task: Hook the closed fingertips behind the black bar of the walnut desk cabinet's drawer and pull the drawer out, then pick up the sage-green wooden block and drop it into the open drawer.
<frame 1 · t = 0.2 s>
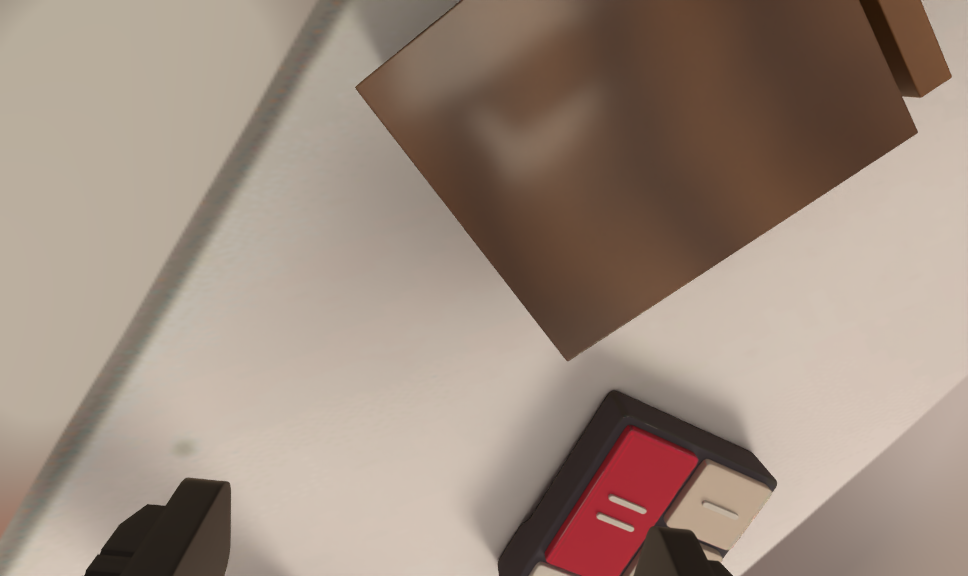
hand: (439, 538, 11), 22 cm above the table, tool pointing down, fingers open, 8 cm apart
cabinet: (583, 94, 30), on the table
calculator: (621, 507, 39), on the table
drawer: (713, 23, 24), point 5 cm above the table, slide at 1.0 cm
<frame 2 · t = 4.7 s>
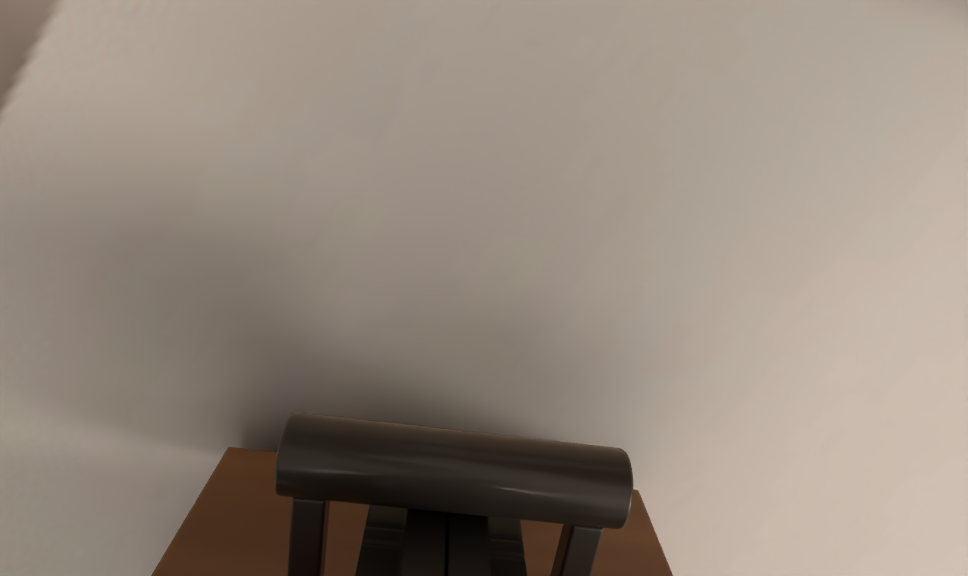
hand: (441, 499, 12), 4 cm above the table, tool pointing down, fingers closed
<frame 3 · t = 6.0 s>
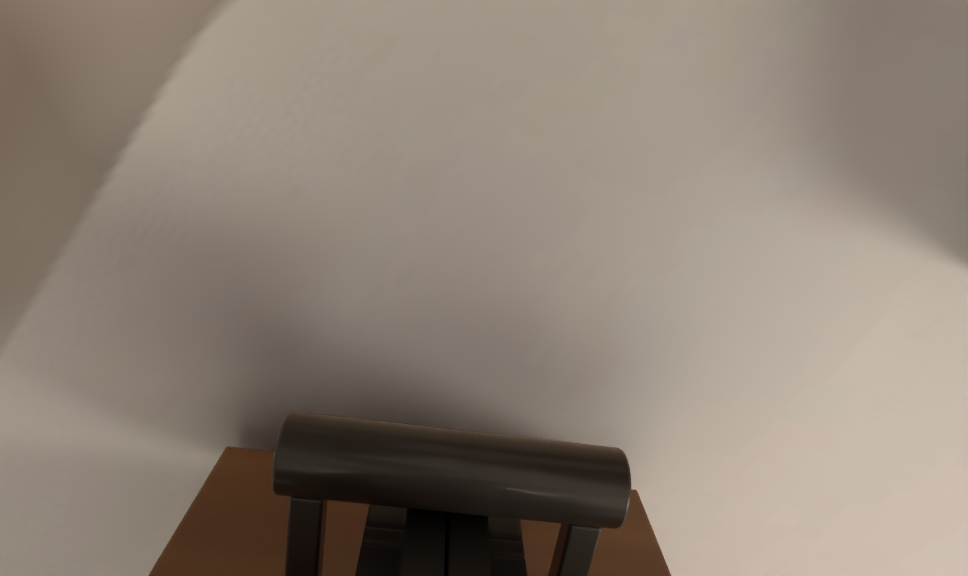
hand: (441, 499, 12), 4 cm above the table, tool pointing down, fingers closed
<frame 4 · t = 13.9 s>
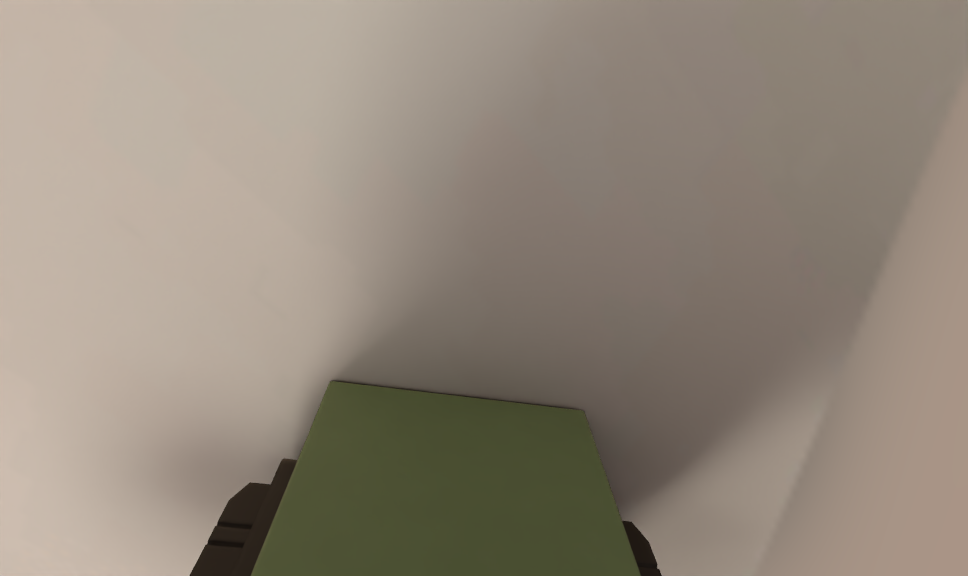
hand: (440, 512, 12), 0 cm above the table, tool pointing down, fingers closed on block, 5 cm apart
block: (442, 497, 13), on the table, touching gripper
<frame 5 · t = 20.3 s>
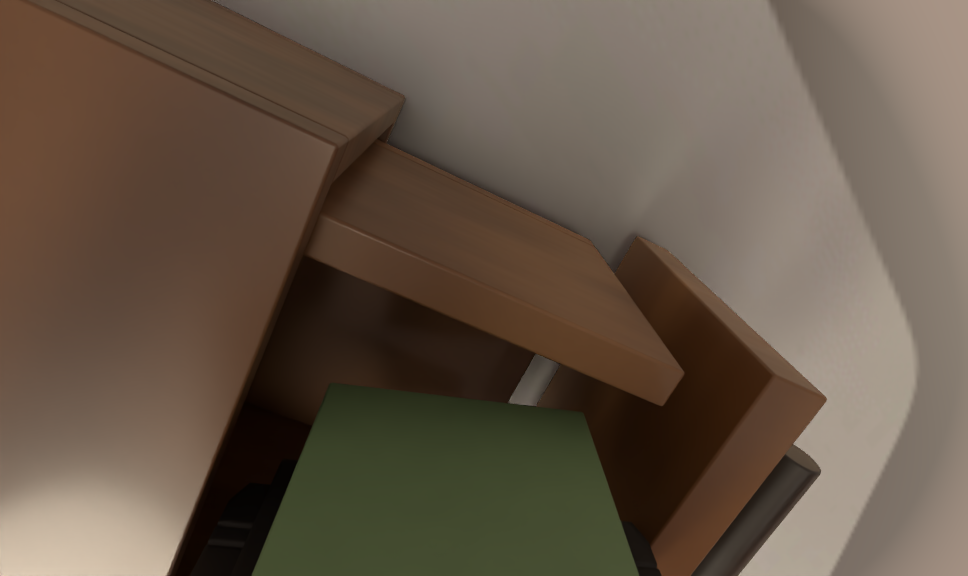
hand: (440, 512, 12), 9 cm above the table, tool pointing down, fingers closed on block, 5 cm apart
block: (442, 499, 13), point 9 cm above the table, touching gripper
cabinet: (104, 182, 18), on the table
drawer: (463, 419, 16), point 5 cm above the table, slide at 8.1 cm
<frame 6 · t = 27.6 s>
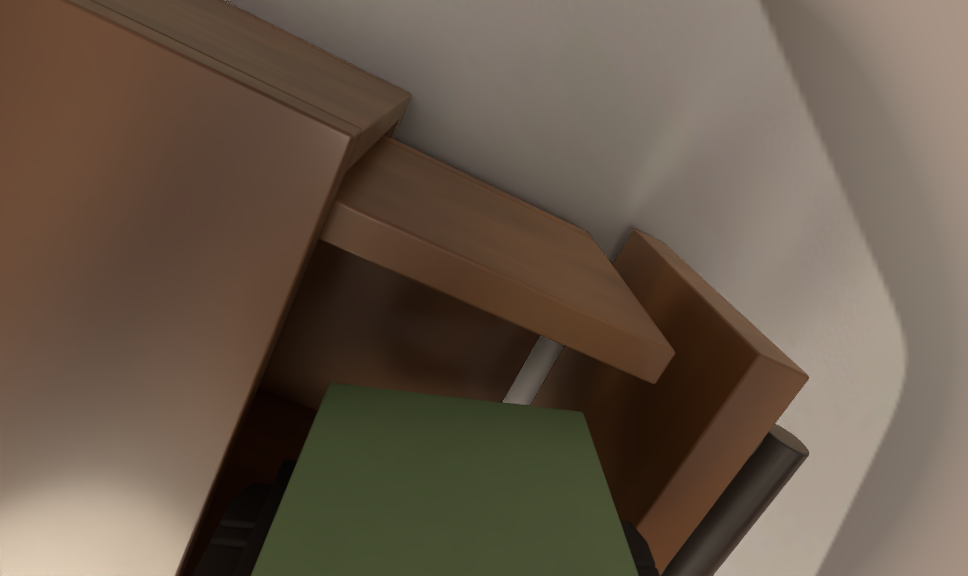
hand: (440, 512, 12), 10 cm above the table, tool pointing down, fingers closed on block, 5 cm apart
block: (442, 498, 13), point 9 cm above the table, touching gripper
cabinet: (121, 175, 19), on the table
drawer: (466, 402, 16), point 5 cm above the table, slide at 8.1 cm
when the fingers open (11 cm above the table, at t = 34.7 s): block drops 9 cm, resting on drawer.
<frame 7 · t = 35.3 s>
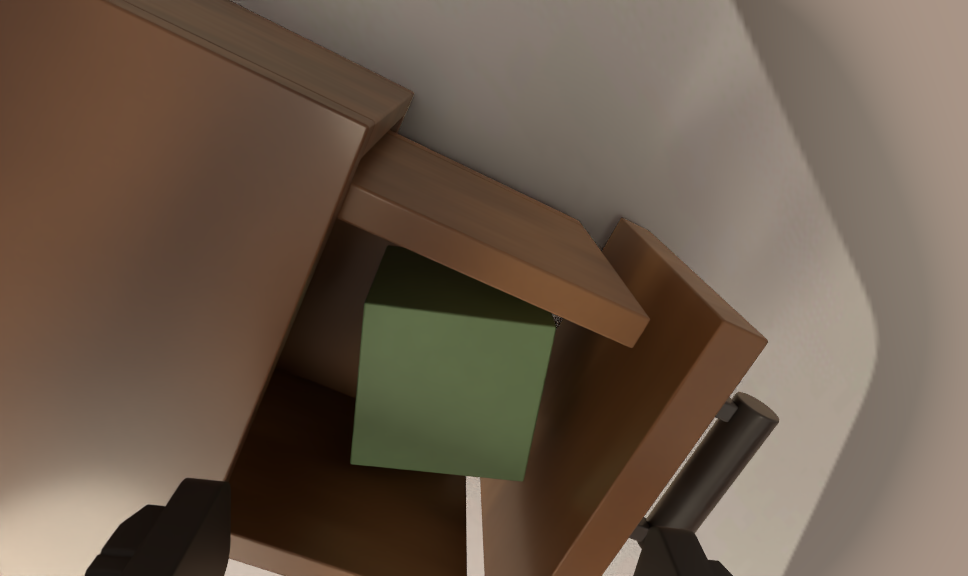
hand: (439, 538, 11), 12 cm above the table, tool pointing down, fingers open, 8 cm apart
block: (451, 322, 21), point 2 cm above the table, touching drawer
cabinet: (146, 168, 21), on the table
drawer: (466, 375, 18), point 5 cm above the table, slide at 8.1 cm, touching block
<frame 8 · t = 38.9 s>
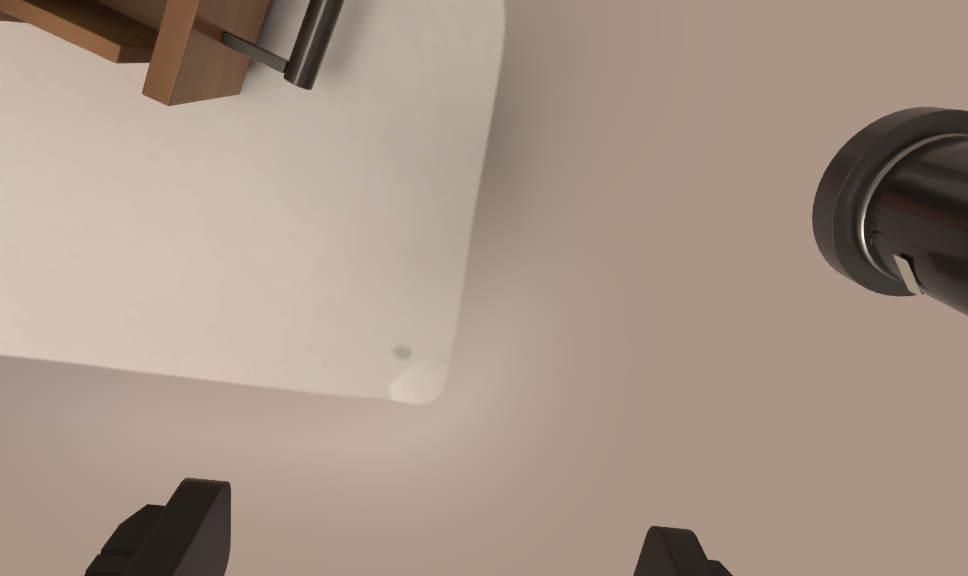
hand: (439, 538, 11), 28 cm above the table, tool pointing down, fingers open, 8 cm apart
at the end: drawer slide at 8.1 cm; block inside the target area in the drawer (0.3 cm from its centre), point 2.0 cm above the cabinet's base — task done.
